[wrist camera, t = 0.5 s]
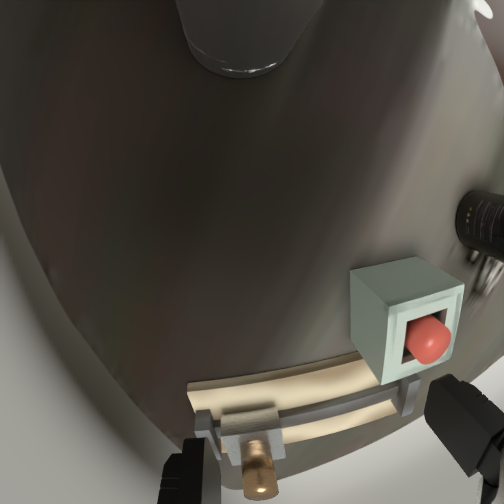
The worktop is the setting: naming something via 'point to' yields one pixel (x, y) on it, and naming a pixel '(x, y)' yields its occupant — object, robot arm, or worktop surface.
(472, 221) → the supplement bottle
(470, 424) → the robot arm
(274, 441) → the carriage
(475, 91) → the worktop surface
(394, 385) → the rail track
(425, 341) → the button
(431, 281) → the button box
